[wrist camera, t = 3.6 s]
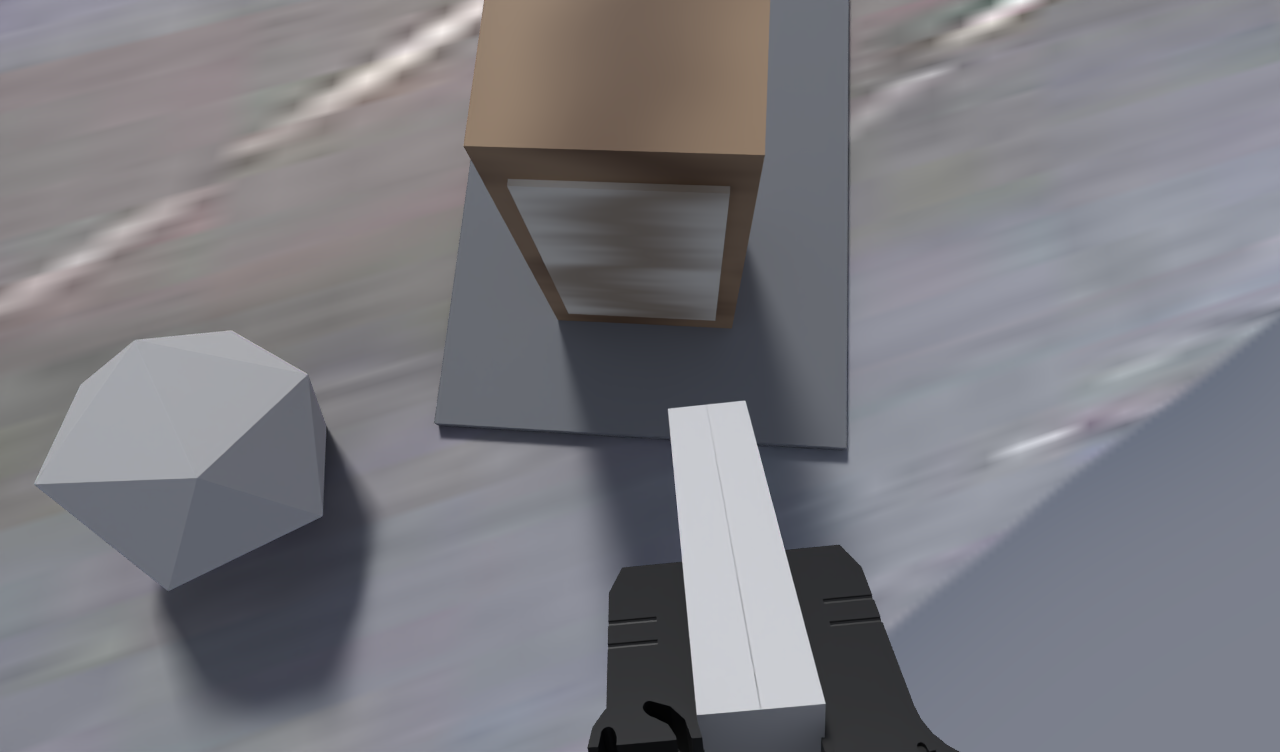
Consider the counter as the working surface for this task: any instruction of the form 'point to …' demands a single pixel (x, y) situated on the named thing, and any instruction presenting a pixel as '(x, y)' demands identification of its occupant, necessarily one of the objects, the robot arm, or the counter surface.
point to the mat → (682, 355)
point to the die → (190, 453)
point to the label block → (625, 149)
